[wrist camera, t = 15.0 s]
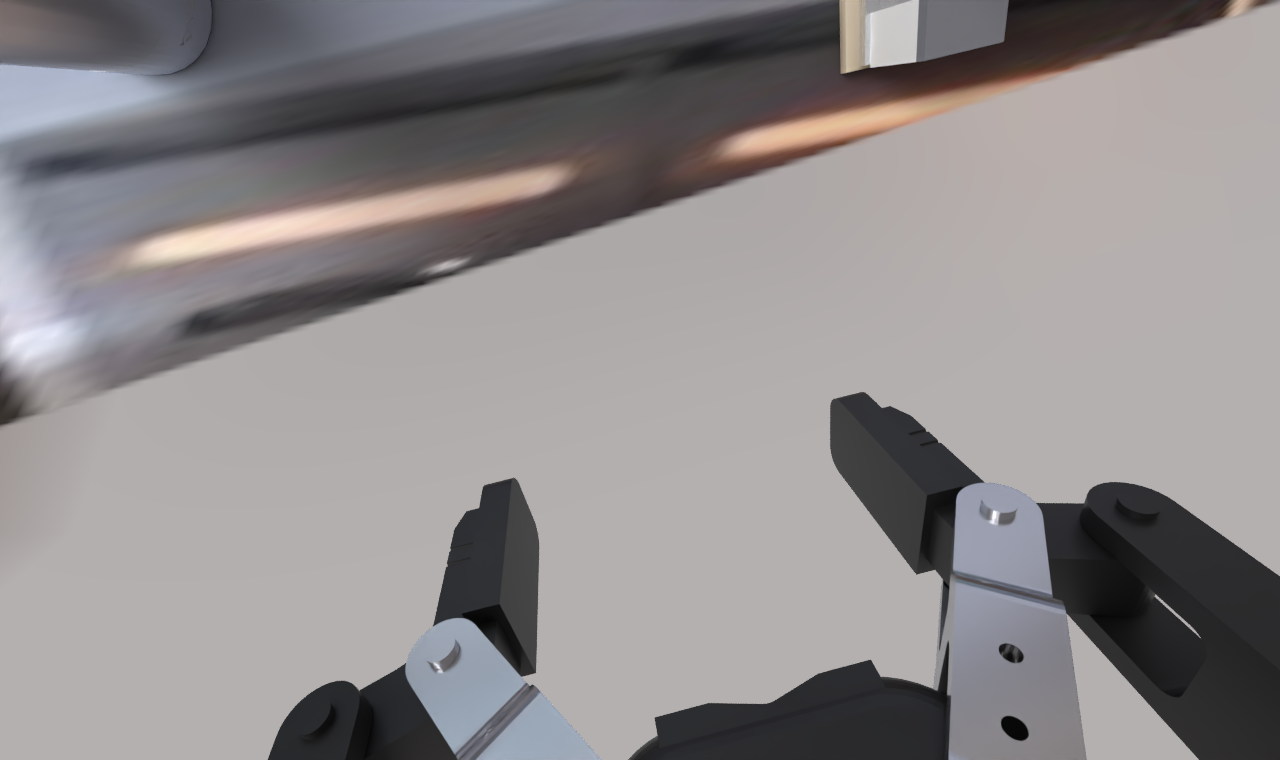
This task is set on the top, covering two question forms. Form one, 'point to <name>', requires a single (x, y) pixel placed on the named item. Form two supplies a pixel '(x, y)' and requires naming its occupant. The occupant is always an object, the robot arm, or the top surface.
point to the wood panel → (849, 36)
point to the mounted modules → (934, 29)
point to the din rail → (868, 4)
